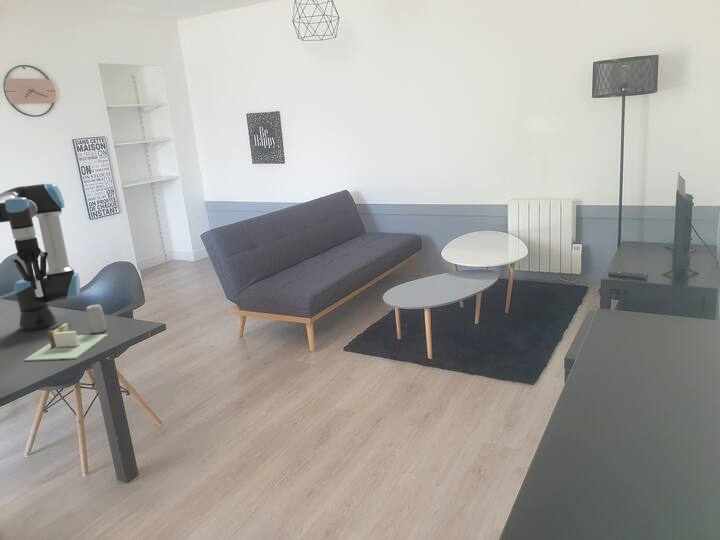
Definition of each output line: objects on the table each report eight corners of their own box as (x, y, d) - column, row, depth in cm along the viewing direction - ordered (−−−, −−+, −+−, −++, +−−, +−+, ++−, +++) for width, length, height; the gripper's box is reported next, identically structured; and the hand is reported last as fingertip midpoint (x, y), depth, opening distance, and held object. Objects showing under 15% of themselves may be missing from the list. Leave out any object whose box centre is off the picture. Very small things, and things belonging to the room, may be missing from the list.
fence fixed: (67, 338, 243) (63, 320, 240) (72, 337, 242) (68, 320, 240) (50, 349, 231) (45, 331, 229) (55, 349, 230) (50, 331, 228)
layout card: (60, 337, 244) (60, 336, 244) (108, 335, 242) (107, 333, 241) (24, 361, 221) (23, 359, 221) (76, 359, 219) (76, 357, 218)
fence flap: (55, 347, 230) (52, 334, 228) (58, 345, 232) (55, 332, 231) (77, 346, 230) (73, 332, 228) (79, 343, 232) (76, 330, 231)
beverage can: (90, 335, 243) (84, 309, 240) (91, 330, 249) (86, 305, 246) (106, 332, 245) (100, 306, 242) (107, 327, 251) (101, 302, 248)
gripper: (11, 242, 207) (27, 302, 213) (47, 235, 217) (60, 292, 223) (2, 241, 211) (18, 300, 217) (37, 234, 221) (51, 290, 227)
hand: (39, 296), depth 220 cm, fingers closed
